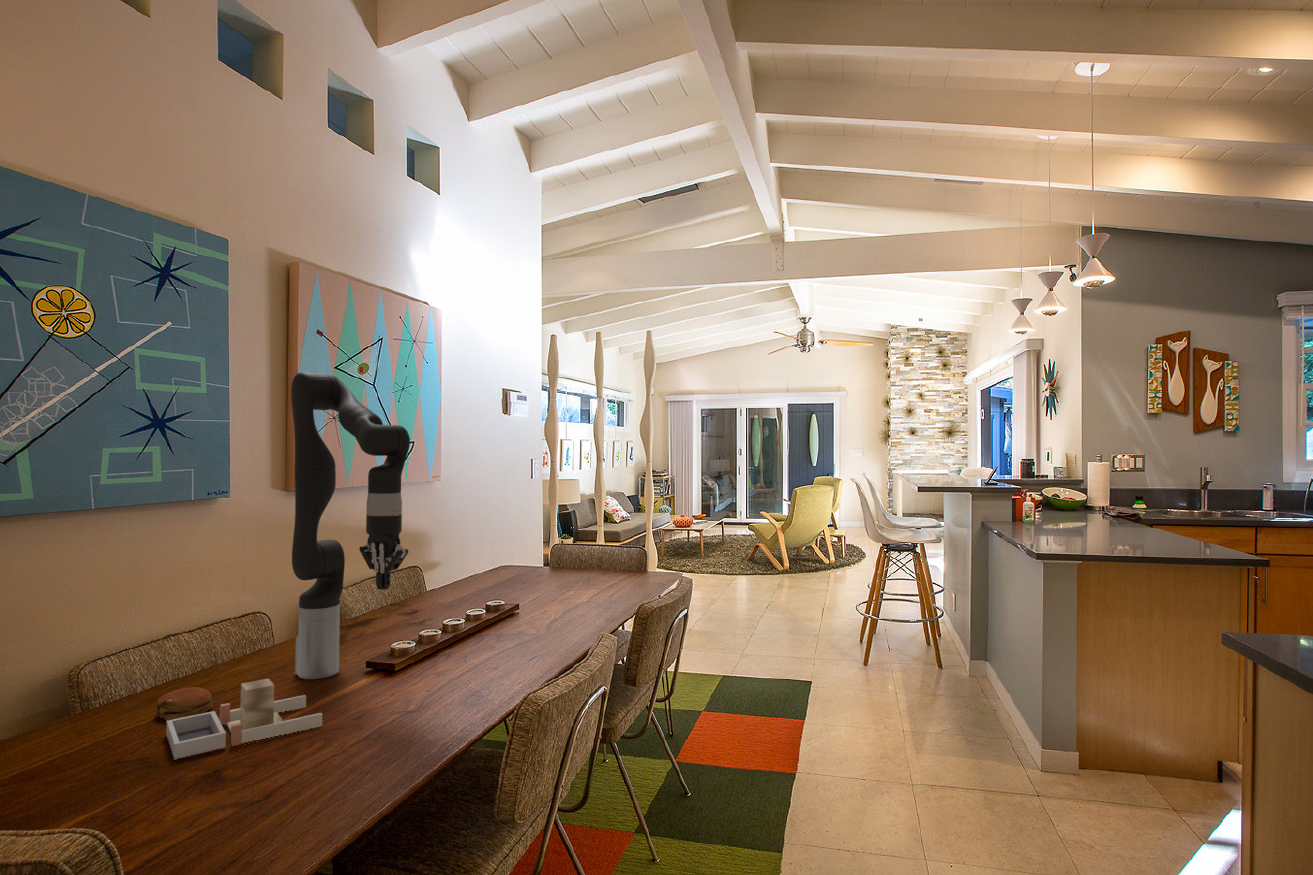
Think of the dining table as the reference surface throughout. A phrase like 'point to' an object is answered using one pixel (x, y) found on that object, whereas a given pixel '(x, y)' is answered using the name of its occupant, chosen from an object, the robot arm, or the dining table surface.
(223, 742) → the box
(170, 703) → the burger
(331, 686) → the dining table surface
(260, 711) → the pawn block
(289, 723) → the ladder rail frame
